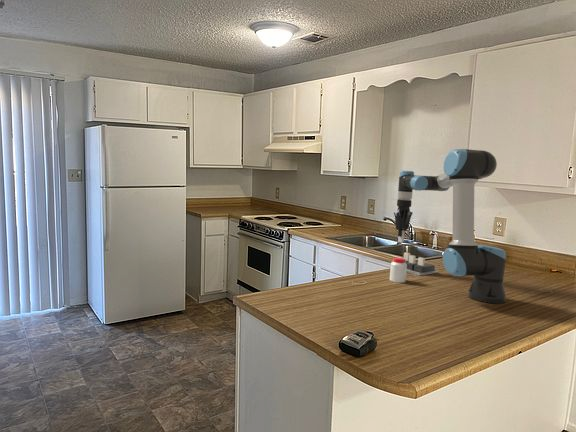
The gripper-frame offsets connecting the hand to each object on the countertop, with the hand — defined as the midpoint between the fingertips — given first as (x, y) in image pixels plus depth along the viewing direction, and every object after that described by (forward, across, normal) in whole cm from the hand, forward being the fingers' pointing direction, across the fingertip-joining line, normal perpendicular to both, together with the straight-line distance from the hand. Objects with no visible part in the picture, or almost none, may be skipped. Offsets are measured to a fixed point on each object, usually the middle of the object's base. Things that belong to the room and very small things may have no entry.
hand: (400, 242), depth 239 cm
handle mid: (+10, -3, +6) cm, 13 cm away
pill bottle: (+15, +20, +17) cm, 30 cm away
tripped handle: (+11, -6, 0) cm, 12 cm away
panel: (+15, -6, +6) cm, 17 cm away
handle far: (+10, -3, +12) cm, 16 cm away
